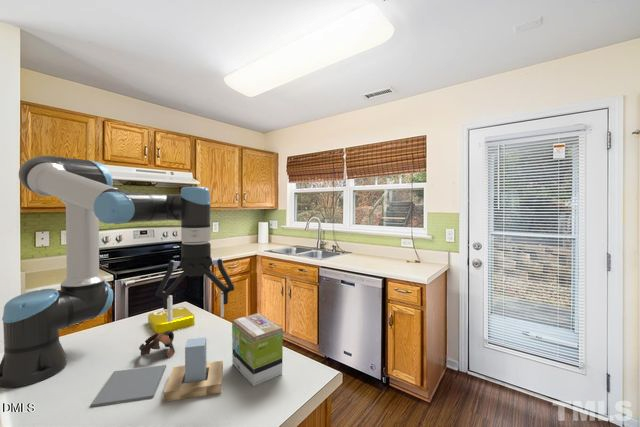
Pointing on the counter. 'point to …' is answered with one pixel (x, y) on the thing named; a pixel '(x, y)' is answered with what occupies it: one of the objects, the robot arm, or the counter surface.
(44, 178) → the robot arm
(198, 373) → the part
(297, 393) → the counter surface
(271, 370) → the tea box
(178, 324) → the element tile
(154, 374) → the plate
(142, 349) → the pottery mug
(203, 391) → the holder
